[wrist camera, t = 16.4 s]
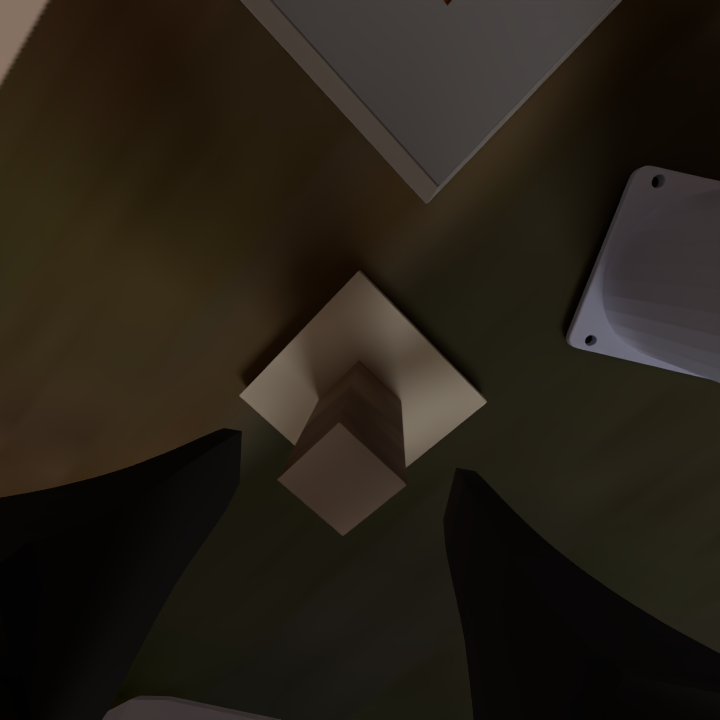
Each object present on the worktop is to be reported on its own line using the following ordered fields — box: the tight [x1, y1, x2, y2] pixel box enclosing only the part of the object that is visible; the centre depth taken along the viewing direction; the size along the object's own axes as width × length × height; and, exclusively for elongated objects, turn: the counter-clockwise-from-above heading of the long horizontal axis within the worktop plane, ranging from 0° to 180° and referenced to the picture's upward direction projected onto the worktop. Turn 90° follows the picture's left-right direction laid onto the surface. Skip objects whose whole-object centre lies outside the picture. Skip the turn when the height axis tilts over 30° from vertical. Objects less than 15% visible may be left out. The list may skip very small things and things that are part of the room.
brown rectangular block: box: [277, 361, 407, 536], centre depth 15 cm, size 3×3×7 cm
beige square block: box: [240, 270, 487, 467], centre depth 19 cm, size 9×9×1 cm
